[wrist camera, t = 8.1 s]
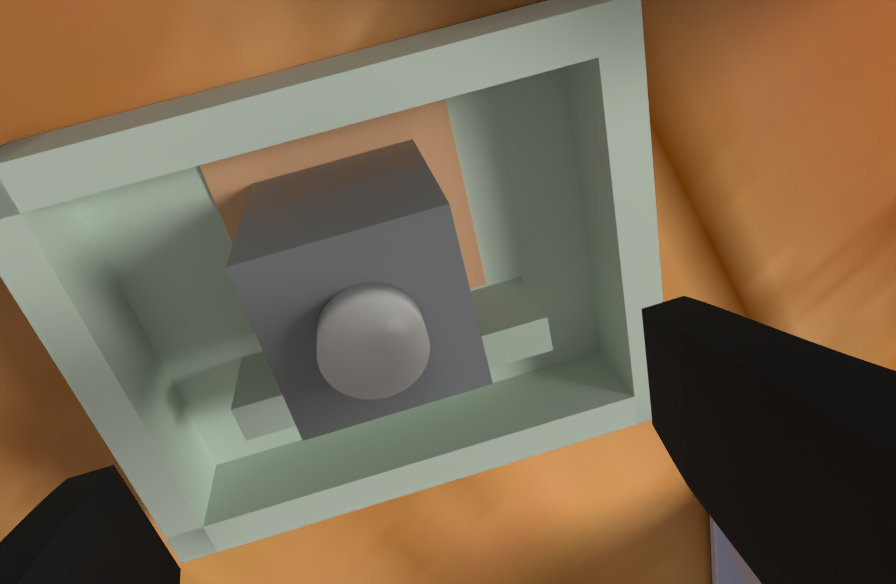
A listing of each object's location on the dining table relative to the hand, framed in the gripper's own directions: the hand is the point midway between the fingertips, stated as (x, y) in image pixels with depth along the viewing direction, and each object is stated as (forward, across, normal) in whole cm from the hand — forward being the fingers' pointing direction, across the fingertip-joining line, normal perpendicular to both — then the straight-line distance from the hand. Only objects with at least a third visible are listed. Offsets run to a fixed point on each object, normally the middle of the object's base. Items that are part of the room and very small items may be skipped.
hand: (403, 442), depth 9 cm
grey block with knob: (+9, 0, 0) cm, 9 cm away
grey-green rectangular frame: (+9, 0, +2) cm, 10 cm away
